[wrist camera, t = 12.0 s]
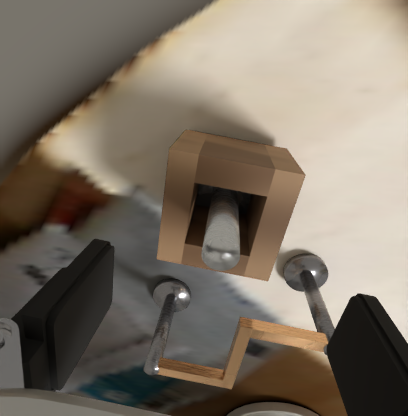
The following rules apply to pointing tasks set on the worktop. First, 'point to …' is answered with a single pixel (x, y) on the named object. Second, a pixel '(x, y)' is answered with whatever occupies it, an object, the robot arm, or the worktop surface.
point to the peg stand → (222, 225)
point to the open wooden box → (234, 180)
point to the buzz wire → (242, 325)
